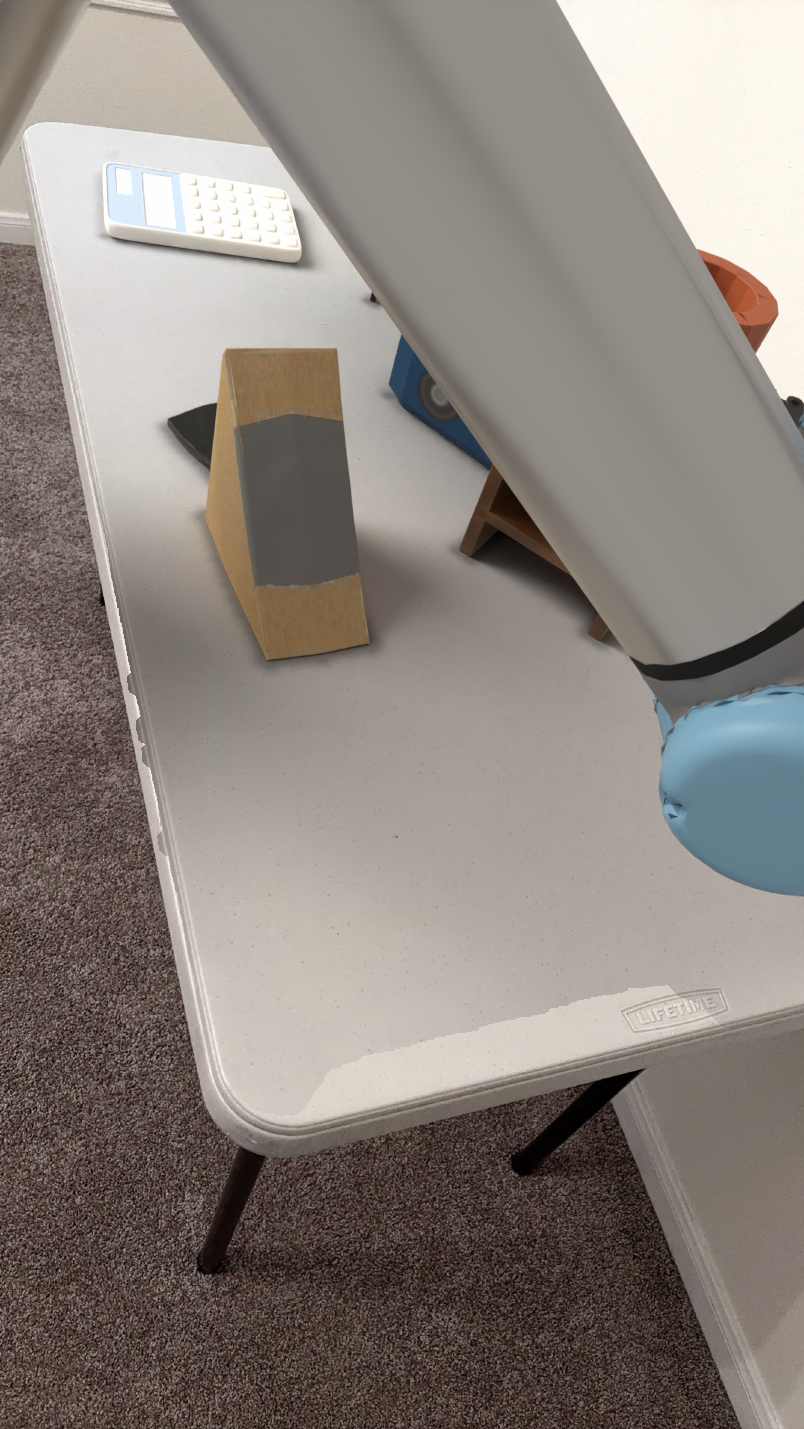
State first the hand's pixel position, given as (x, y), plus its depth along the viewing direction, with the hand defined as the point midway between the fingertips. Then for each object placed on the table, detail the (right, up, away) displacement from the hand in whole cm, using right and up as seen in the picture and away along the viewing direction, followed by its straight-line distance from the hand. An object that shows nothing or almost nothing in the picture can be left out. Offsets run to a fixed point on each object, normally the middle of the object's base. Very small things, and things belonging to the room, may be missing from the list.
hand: (666, 324), depth 68 cm
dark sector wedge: (-31, -4, +16) cm, 35 cm away
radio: (-10, -2, +25) cm, 27 cm away
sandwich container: (-27, -17, +7) cm, 33 cm away
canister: (-2, -7, +2) cm, 8 cm away
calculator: (-40, +26, +37) cm, 60 cm away
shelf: (-4, -13, +17) cm, 22 cm away
